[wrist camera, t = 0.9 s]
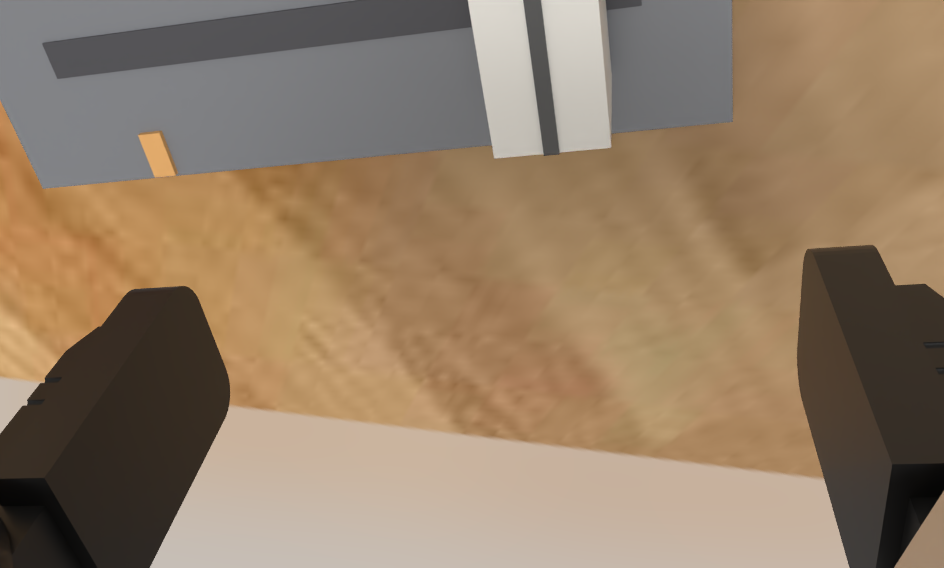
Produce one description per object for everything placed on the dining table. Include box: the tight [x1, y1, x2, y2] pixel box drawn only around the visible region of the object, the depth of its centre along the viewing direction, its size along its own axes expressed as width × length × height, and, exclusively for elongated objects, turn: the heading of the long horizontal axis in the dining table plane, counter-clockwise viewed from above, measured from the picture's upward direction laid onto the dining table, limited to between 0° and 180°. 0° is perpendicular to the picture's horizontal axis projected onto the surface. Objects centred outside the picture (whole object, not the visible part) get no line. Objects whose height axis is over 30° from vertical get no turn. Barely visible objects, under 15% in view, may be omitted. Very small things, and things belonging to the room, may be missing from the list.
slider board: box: [0, 0, 733, 189], centre depth 28 cm, size 24×9×2 cm, turn 99°
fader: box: [468, 0, 612, 159], centre depth 23 cm, size 3×5×5 cm, turn 9°
